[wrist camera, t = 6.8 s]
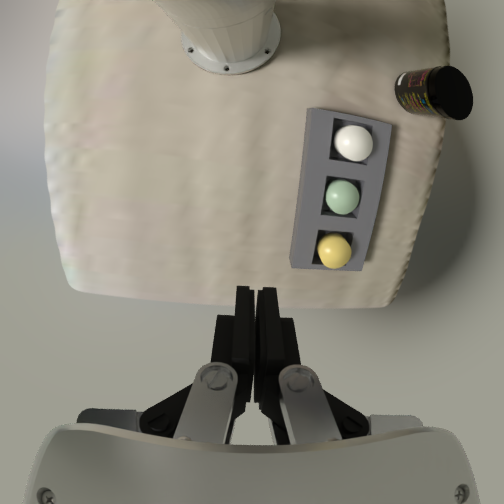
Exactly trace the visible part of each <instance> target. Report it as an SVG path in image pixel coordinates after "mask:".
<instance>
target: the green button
mask: <svg viewBox="0 0 504 504" xmlns="http://www.w3.org/2000/svg"><path fill="white" fill-rule="evenodd" d="M324 200H325V202H326V203H327V204H328V206H329V207H330V208H331V209H332V210H333V211H334V212H335V213H337V214H348V213H350V212H352V211H353V210H354V209H355V208H356V207H357V205H358V202H359V193H358V190H357V188H356V187H355V186H354V185H352V184H351V183H350V182H348V181H347V180H345V179H343V178H335V179H332V180H330V181H329V182H328V183H327V184H326V186H325V190H324Z"/></svg>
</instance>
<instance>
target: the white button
mask: <svg viewBox="0 0 504 504" xmlns="http://www.w3.org/2000/svg"><path fill="white" fill-rule="evenodd" d="M333 141H334V147H335V149H336V151H337V152H338V153H339V154H340V155H342V156H343V157H345V158H347V159H350V160H352V161H361V160H364V159H366V158H367V157H368V156H369V155H370V153H371V151H372V147H373V141H372V137H371V135H370V133H369V132H368V131H367V130H366V129H364V128H363V127H360V126H354V125H344V126H342V127H340V128H339V129H338V130H337V131H336V133H335V135H334V140H333Z"/></svg>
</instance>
